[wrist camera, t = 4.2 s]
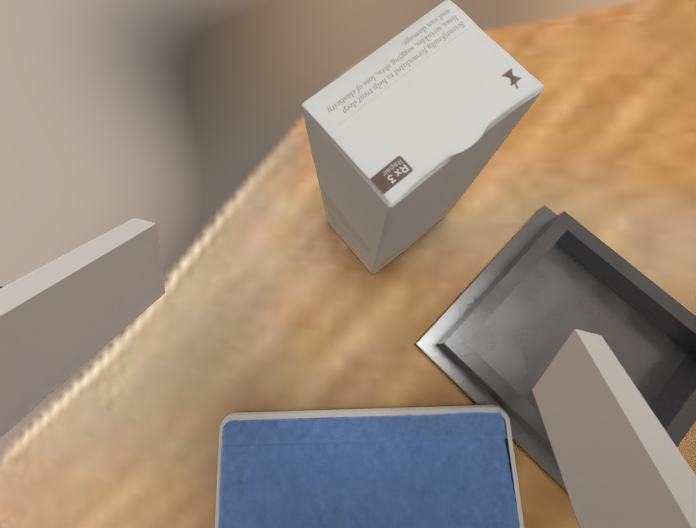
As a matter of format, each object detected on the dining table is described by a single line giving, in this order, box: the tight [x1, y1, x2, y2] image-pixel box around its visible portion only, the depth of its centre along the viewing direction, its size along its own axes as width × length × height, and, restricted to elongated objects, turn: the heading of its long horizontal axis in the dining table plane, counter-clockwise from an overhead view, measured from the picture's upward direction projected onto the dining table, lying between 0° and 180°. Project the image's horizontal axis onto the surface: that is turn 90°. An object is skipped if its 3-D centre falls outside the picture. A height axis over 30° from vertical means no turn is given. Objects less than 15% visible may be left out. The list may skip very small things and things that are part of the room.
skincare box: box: [302, 0, 544, 275], centre depth 20 cm, size 8×6×15 cm
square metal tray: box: [415, 205, 696, 493], centre depth 24 cm, size 15×16×3 cm
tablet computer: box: [215, 404, 524, 528], centre depth 22 cm, size 19×13×1 cm, turn 92°
